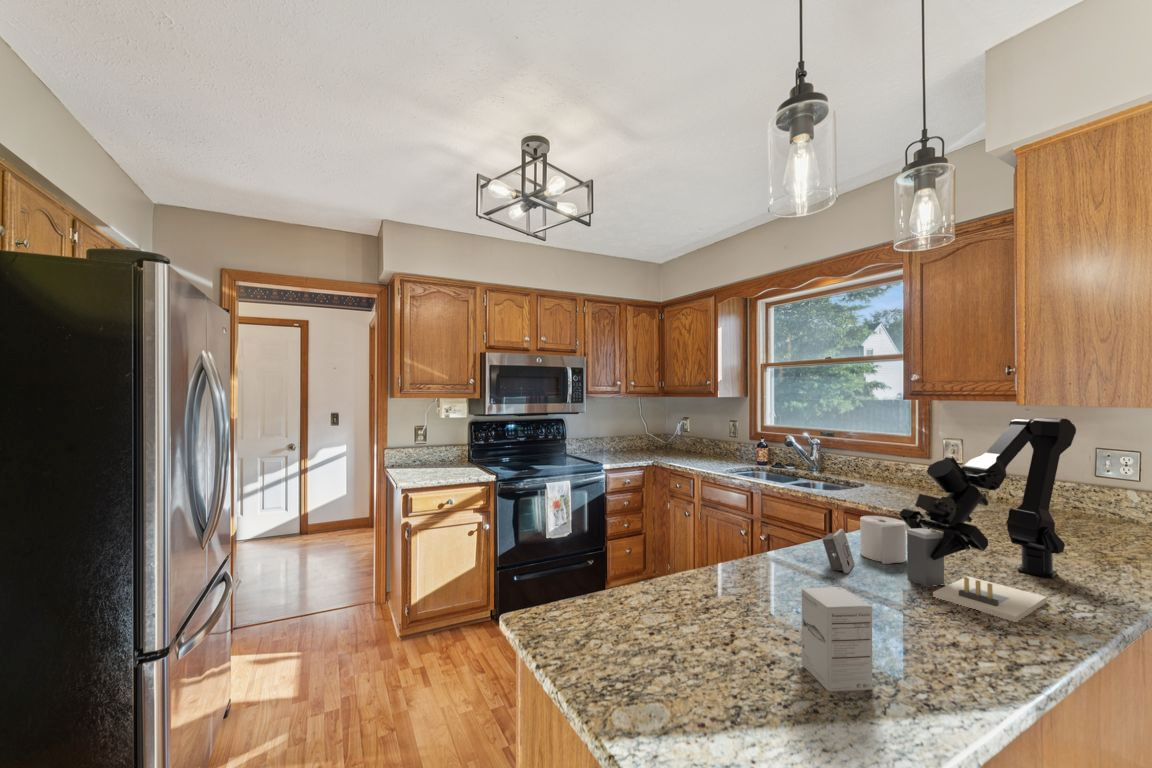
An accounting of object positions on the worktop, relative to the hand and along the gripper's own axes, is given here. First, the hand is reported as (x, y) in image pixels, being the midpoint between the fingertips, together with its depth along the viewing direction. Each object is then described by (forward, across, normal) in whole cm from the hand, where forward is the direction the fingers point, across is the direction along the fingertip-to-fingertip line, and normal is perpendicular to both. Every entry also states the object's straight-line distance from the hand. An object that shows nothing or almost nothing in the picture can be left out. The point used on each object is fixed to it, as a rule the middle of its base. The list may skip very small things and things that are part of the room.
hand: (920, 554), depth 116 cm
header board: (0, +11, +9) cm, 14 cm away
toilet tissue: (0, -17, +9) cm, 19 cm away
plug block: (+4, 0, +6) cm, 7 cm away
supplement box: (+39, +30, -29) cm, 57 cm away
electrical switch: (+13, -12, -3) cm, 18 cm away
